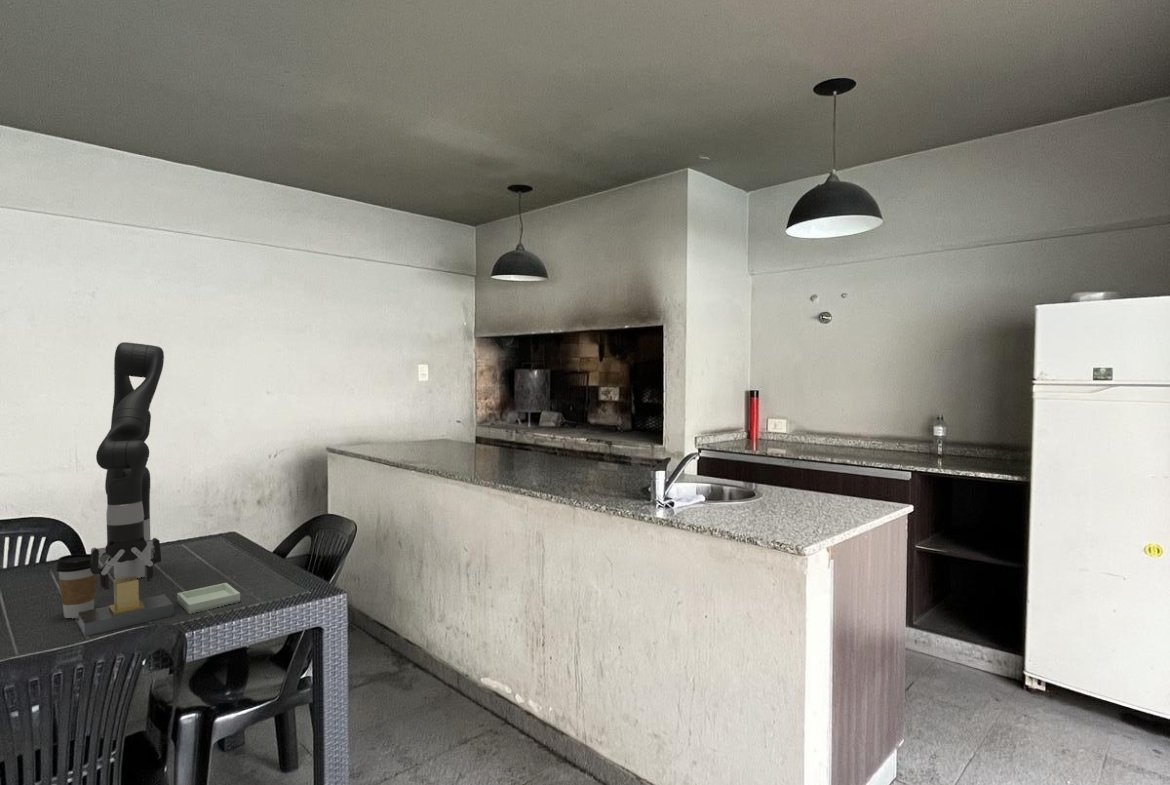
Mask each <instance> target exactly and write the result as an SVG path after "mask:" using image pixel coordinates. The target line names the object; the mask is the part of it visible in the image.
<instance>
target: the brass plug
mask: <svg viewBox="0 0 1170 785" xmlns="http://www.w3.org/2000/svg"><path fill="white" fill-rule="evenodd" d="M139 587H140V586H139V578H138V579H137V578H136V577H135V576H131V577H125V578H120V579H113V604H111V605H108V606H109V609H110V611H111V612H112V614H113V615H116V614H120V613H125V612H129V611H134V610H138V609H143V608H145V605H144V604H143V603H142V602H141V601H140V599H141V598H140V595H139V594H140V593H139V592H140V589H139Z"/></svg>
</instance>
